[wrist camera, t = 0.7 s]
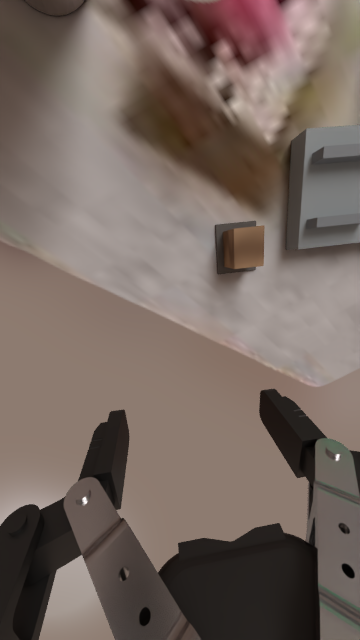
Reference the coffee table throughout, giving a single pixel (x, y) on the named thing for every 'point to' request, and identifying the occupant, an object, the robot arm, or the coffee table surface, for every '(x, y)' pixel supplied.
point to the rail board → (324, 188)
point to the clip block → (243, 247)
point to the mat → (220, 248)
